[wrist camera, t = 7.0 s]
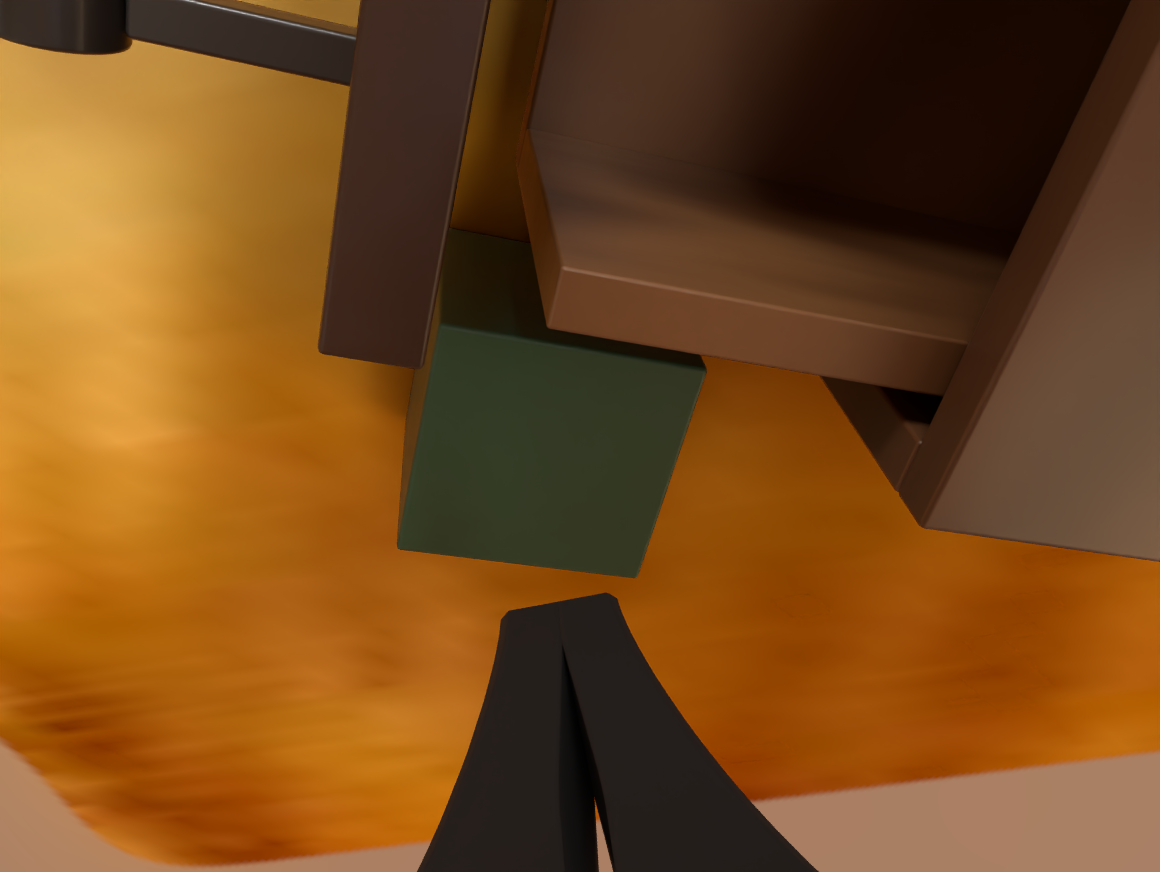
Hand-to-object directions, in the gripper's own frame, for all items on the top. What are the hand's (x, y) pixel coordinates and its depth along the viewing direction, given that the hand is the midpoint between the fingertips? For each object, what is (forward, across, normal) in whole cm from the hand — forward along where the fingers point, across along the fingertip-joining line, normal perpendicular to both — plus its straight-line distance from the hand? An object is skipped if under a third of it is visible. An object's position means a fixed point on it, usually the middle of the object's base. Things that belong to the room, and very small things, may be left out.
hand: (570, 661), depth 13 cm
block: (+9, 0, 0) cm, 9 cm away
